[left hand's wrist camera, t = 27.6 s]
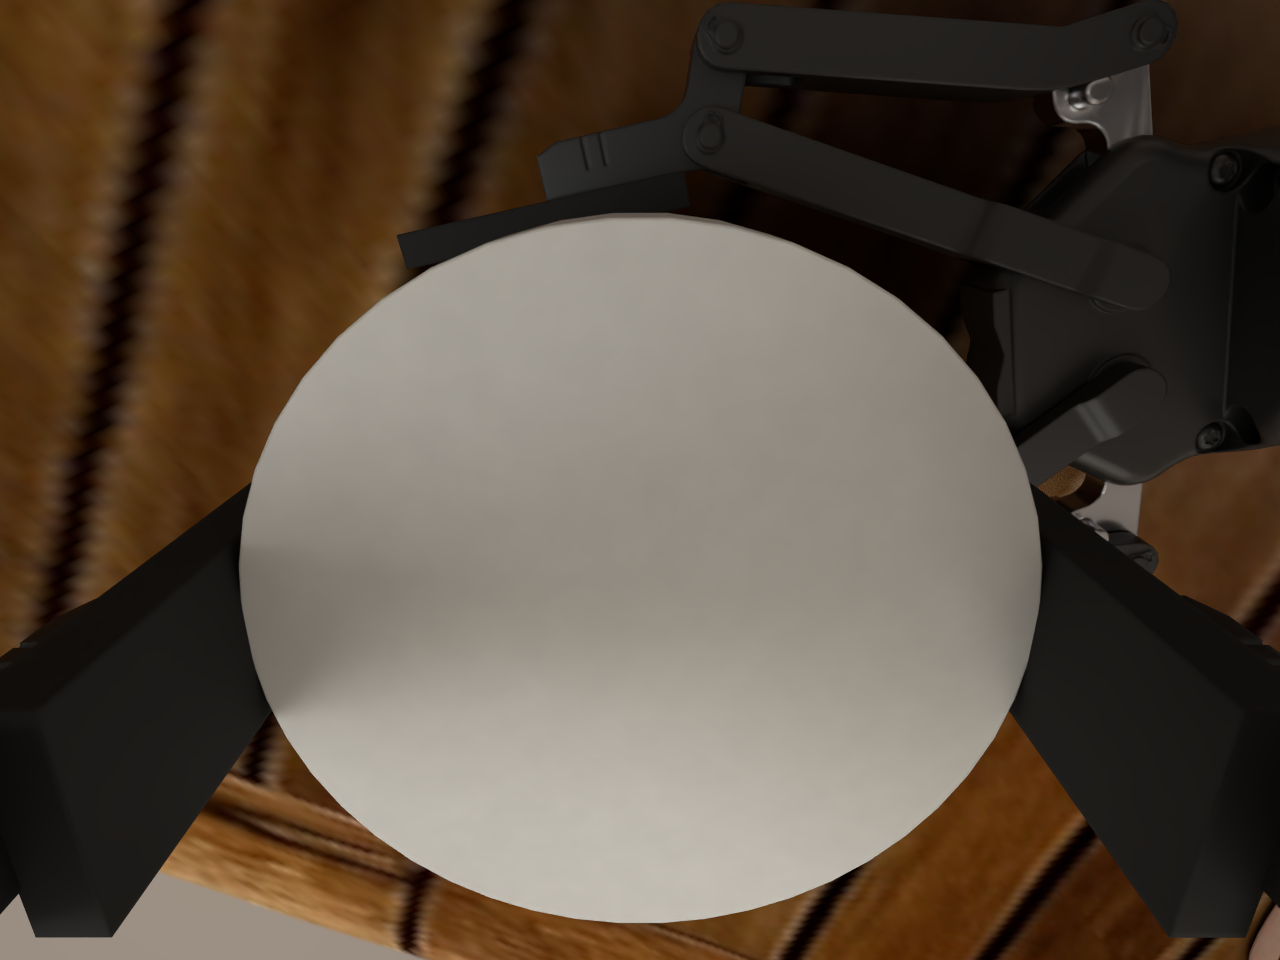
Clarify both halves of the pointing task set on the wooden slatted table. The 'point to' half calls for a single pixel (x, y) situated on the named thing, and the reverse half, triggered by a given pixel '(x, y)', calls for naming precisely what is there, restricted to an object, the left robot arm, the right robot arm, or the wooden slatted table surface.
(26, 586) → the wooden slatted table surface
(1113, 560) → the left robot arm
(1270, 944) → the anatomical model
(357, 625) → the lid
